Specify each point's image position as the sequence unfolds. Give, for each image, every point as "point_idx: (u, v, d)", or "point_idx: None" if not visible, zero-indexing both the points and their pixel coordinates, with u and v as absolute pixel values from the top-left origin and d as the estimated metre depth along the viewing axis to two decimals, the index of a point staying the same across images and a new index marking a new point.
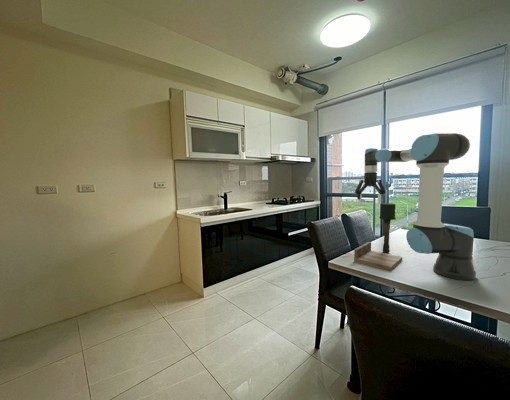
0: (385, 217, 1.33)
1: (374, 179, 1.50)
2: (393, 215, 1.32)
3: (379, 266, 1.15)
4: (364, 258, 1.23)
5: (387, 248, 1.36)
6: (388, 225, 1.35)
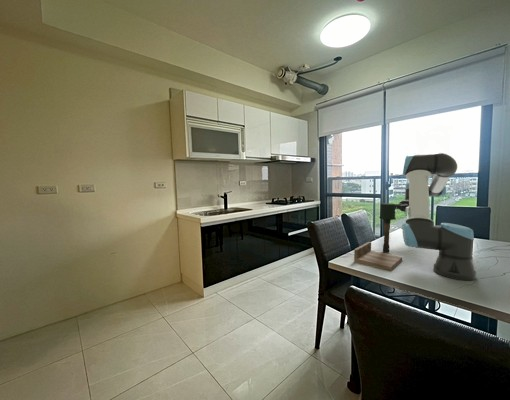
0: (385, 217, 1.33)
1: (407, 205, 1.50)
2: (393, 215, 1.32)
3: (379, 266, 1.15)
4: (364, 258, 1.23)
5: (387, 248, 1.36)
6: (388, 225, 1.35)
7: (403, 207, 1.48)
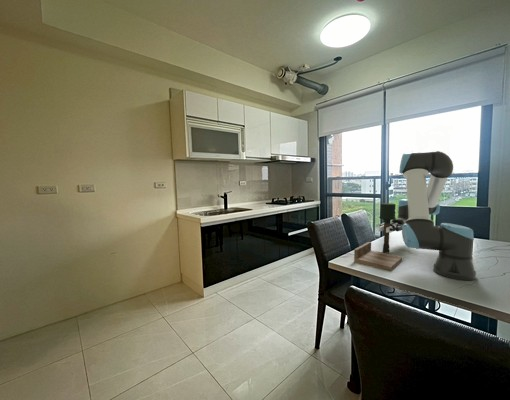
0: (385, 217, 1.33)
1: (400, 224, 1.43)
2: (393, 215, 1.32)
3: (379, 266, 1.15)
4: (364, 258, 1.23)
5: (387, 248, 1.36)
6: (388, 225, 1.35)
7: None
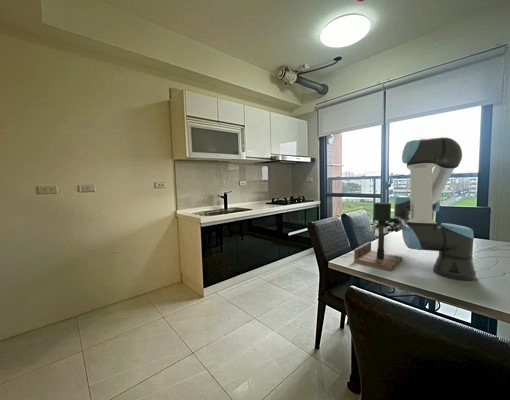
0: (379, 218, 1.19)
1: (396, 223, 1.28)
2: (388, 216, 1.18)
3: (379, 266, 1.15)
4: (364, 258, 1.23)
5: (382, 253, 1.22)
6: (383, 227, 1.21)
7: (391, 226, 1.26)
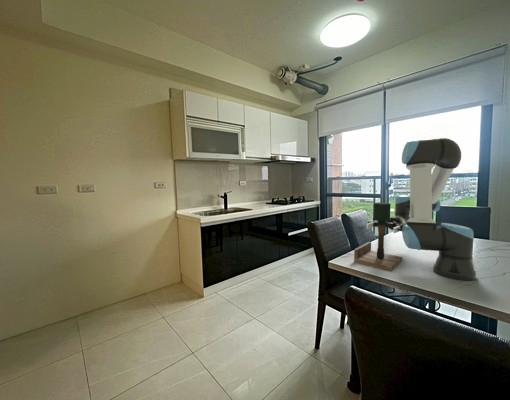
0: (379, 218, 1.19)
1: (396, 222, 1.30)
2: (387, 216, 1.18)
3: (379, 266, 1.15)
4: (364, 258, 1.23)
5: (381, 253, 1.22)
6: (382, 227, 1.21)
7: (391, 225, 1.28)
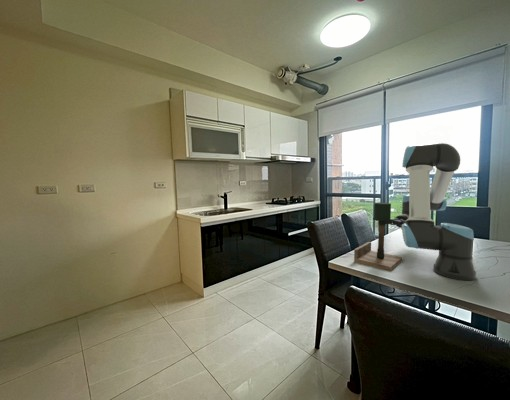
0: (379, 218, 1.19)
1: None
2: (388, 216, 1.18)
3: (379, 266, 1.15)
4: (364, 258, 1.23)
5: (382, 253, 1.22)
6: (383, 227, 1.21)
7: (399, 223, 1.35)
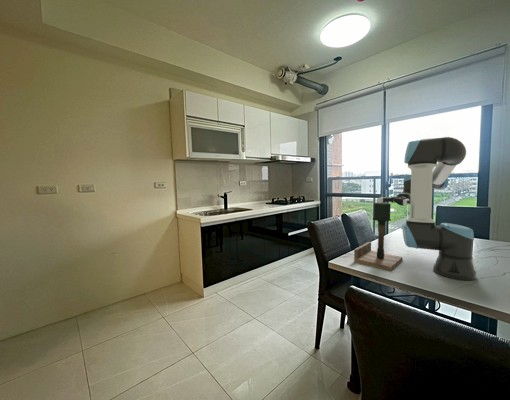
0: (379, 218, 1.19)
1: None
2: (387, 216, 1.18)
3: (379, 266, 1.15)
4: (364, 258, 1.23)
5: (382, 253, 1.22)
6: (382, 227, 1.21)
7: (401, 200, 1.34)
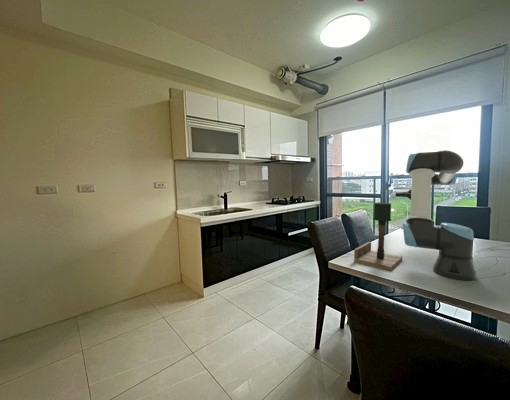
0: (379, 218, 1.19)
1: None
2: (388, 216, 1.18)
3: (379, 266, 1.15)
4: (364, 258, 1.23)
5: (382, 253, 1.22)
6: (383, 227, 1.21)
7: None
